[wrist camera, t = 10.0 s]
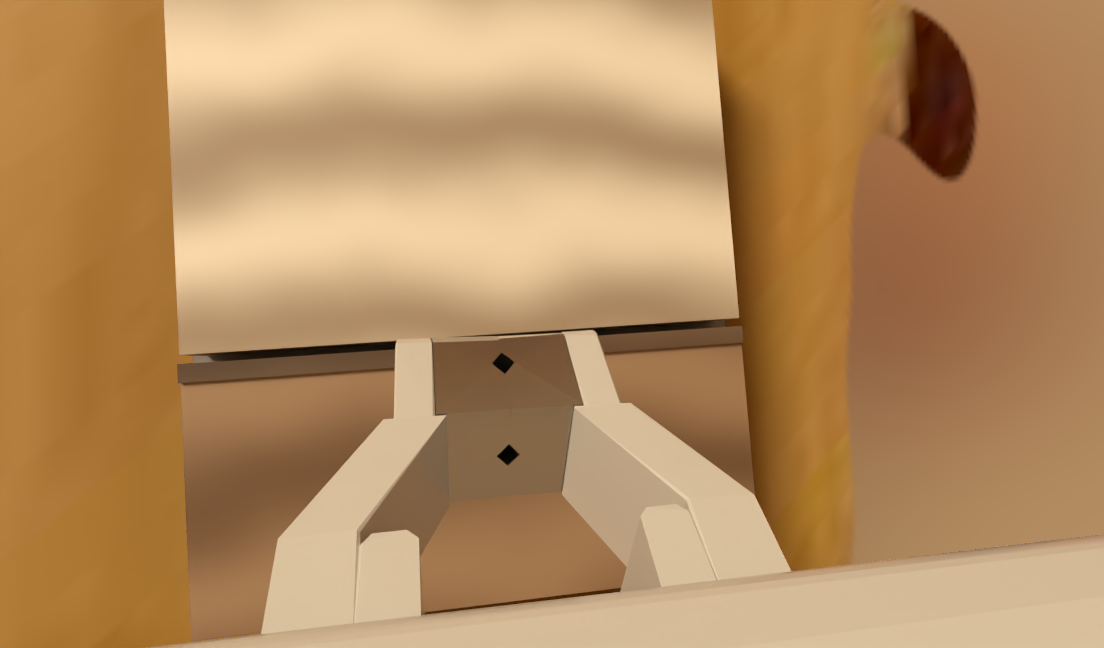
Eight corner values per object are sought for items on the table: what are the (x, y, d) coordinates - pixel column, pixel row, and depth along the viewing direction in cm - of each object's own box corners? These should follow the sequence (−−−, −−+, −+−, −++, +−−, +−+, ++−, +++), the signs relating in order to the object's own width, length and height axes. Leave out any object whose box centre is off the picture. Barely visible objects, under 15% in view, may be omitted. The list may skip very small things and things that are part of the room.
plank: (713, 322, 27) (739, 317, 24) (207, 356, 24) (179, 355, 22) (686, 6, 27) (708, -30, 25) (191, 3, 25) (162, -37, 22)
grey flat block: (716, 543, 29) (779, 584, 24) (232, 600, 26) (172, 662, 21) (673, 31, 31) (722, -45, 25) (207, 31, 28) (143, -55, 22)
